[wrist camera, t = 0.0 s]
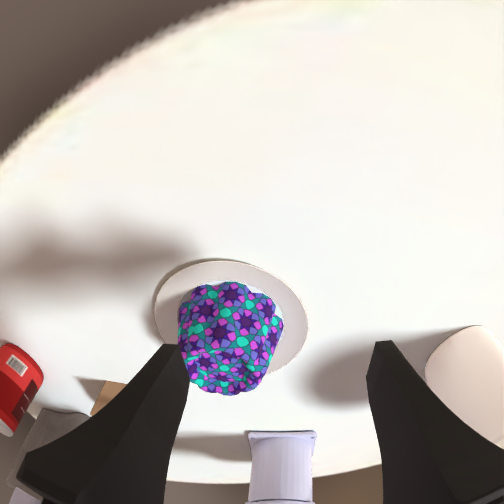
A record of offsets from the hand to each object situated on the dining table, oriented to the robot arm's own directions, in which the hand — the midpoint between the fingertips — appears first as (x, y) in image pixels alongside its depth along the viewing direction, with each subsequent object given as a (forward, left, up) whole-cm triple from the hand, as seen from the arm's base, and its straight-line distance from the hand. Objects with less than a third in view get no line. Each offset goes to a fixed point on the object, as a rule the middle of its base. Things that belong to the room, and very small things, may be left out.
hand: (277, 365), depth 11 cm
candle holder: (-13, -18, -10) cm, 24 cm away
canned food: (-17, +35, -10) cm, 40 cm away
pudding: (-7, +4, -11) cm, 13 cm away
